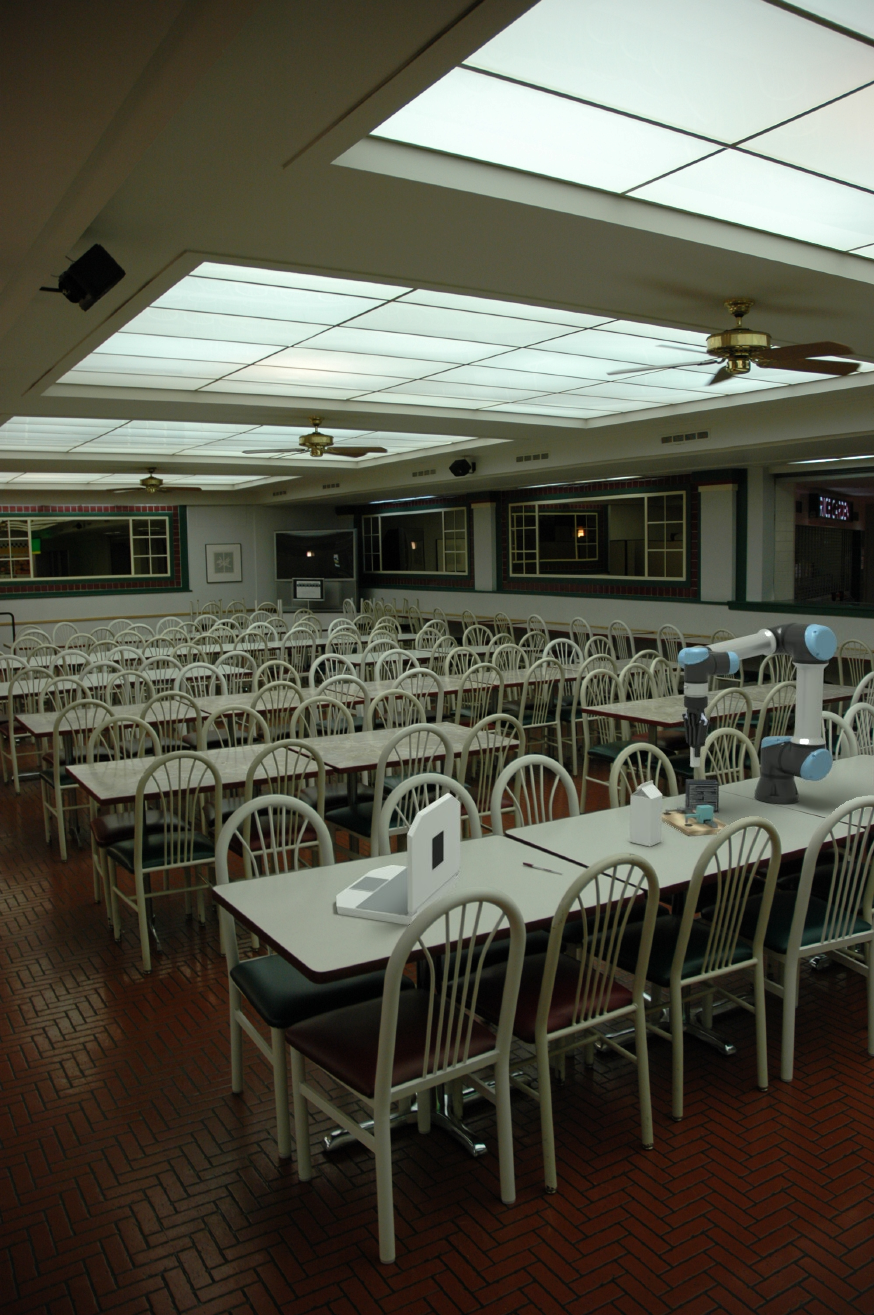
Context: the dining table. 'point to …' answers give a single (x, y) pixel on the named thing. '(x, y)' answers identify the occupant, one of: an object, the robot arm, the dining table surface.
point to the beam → (690, 811)
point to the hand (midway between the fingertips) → (695, 766)
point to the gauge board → (690, 824)
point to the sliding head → (702, 813)
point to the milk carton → (646, 815)
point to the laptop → (411, 870)
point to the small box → (702, 793)
